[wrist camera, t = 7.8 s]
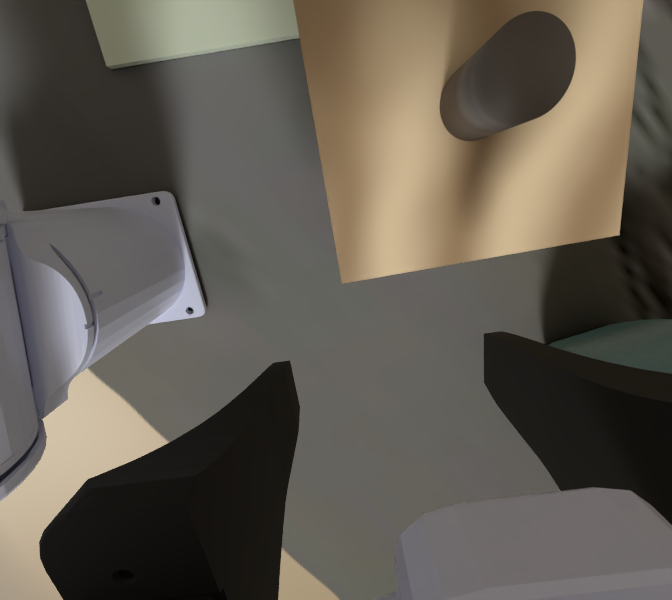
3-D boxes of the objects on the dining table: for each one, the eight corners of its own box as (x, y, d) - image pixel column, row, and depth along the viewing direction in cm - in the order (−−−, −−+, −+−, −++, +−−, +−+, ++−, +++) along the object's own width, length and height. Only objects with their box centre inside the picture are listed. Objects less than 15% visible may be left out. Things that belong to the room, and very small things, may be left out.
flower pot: (513, 328, 23) (623, 406, 14) (638, 288, 22) (832, 345, 14) (531, 424, 26) (633, 538, 17) (644, 390, 25) (809, 492, 16)
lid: (341, 279, 17) (346, 310, 13) (283, -56, 13) (259, -196, 8) (606, 233, 17) (711, 247, 12) (638, -129, 12) (818, -316, 8)
